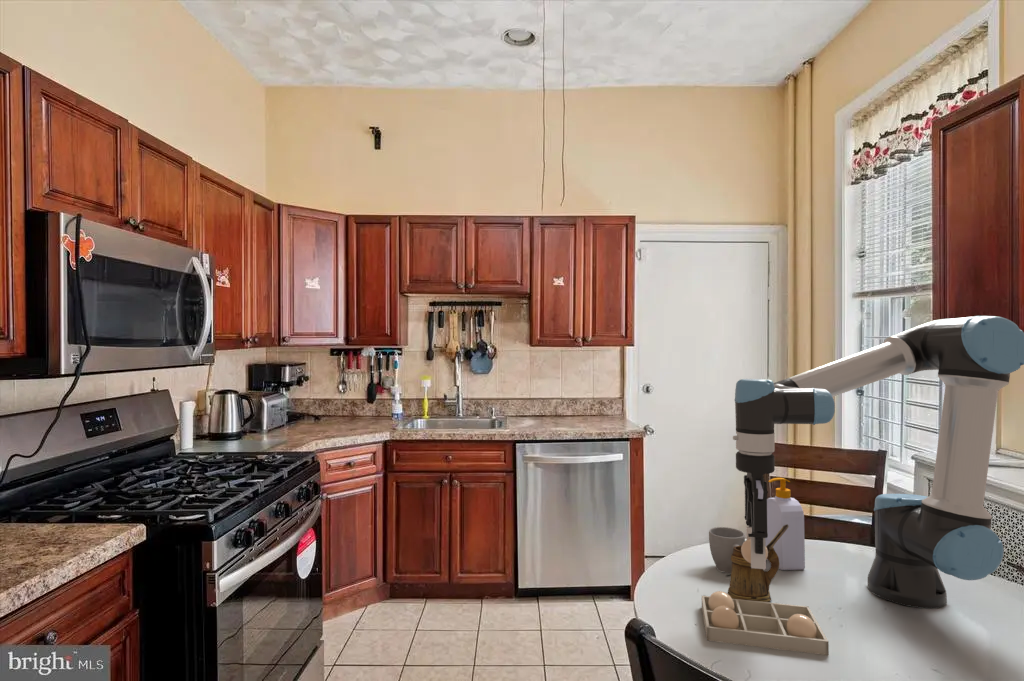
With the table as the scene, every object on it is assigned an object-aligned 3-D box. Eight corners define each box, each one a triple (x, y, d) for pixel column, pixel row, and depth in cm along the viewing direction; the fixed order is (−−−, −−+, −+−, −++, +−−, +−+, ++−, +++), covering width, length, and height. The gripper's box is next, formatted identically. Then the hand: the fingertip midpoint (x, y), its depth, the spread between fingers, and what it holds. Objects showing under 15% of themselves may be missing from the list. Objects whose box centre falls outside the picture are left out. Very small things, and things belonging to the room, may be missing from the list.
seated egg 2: (737, 628, 113) (736, 602, 113) (740, 641, 108) (740, 614, 108) (710, 625, 114) (710, 599, 115) (712, 637, 109) (712, 611, 110)
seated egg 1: (732, 612, 120) (732, 588, 120) (736, 624, 115) (735, 598, 115) (707, 609, 121) (707, 585, 121) (709, 621, 116) (709, 596, 116)
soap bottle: (761, 558, 152) (760, 474, 153) (786, 557, 153) (784, 474, 153) (779, 571, 143) (778, 482, 144) (805, 570, 144) (803, 482, 144)
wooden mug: (789, 614, 118) (786, 528, 120) (723, 601, 126) (721, 520, 127) (794, 600, 126) (791, 520, 127) (732, 589, 133) (729, 512, 135)
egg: (765, 560, 118) (765, 536, 118) (770, 570, 113) (770, 544, 113) (739, 558, 120) (739, 534, 120) (742, 567, 115) (743, 541, 115)
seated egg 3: (812, 637, 109) (812, 610, 110) (820, 650, 104) (819, 623, 105) (784, 633, 111) (783, 607, 111) (790, 647, 106) (789, 619, 106)
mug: (703, 563, 149) (703, 527, 149) (734, 561, 150) (734, 526, 150) (725, 582, 137) (724, 543, 137) (759, 580, 138) (758, 541, 138)
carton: (808, 621, 117) (808, 606, 117) (828, 658, 103) (828, 641, 103) (701, 609, 123) (701, 595, 123) (707, 643, 109) (706, 627, 109)
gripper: (730, 444, 126) (731, 546, 126) (741, 459, 109) (743, 578, 109) (766, 445, 125) (767, 549, 124) (783, 461, 107) (784, 582, 107)
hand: (755, 562), depth 116 cm, fingers closed on egg, 5 cm apart
